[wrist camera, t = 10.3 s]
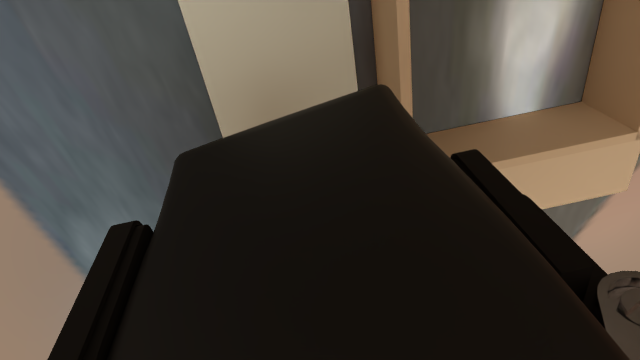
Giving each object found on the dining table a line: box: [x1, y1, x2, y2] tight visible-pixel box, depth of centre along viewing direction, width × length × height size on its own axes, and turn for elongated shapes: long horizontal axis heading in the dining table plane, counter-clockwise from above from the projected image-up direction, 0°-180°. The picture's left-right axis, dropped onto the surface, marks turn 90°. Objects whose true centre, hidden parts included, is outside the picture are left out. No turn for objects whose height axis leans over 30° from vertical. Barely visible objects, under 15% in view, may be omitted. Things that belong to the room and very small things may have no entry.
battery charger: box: [107, 84, 630, 360], centre depth 8 cm, size 7×4×11 cm, turn 108°
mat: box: [178, 0, 358, 138], centre depth 23 cm, size 9×12×1 cm
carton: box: [371, 0, 640, 209], centre depth 23 cm, size 15×22×5 cm
